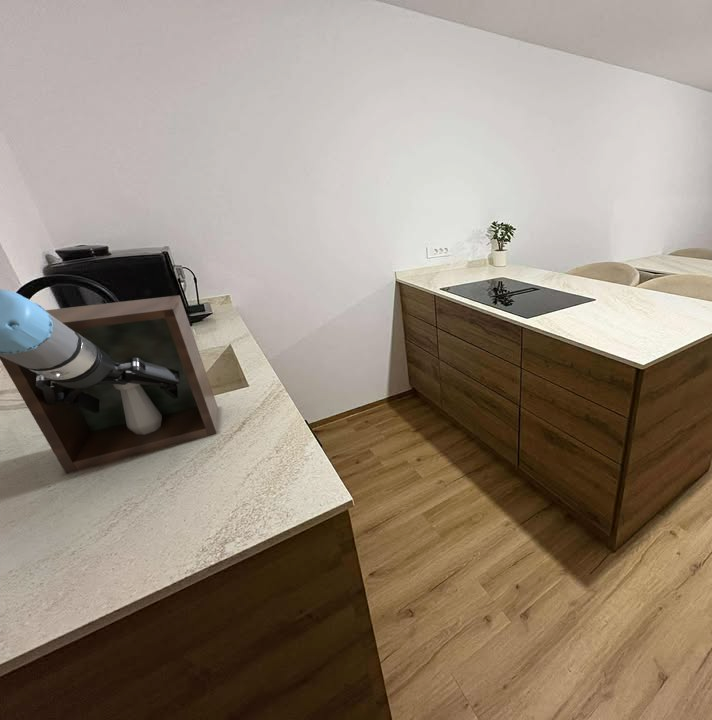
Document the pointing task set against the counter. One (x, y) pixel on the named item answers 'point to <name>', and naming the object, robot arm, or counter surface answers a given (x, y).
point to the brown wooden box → (108, 426)
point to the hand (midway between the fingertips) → (137, 399)
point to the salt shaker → (139, 409)
